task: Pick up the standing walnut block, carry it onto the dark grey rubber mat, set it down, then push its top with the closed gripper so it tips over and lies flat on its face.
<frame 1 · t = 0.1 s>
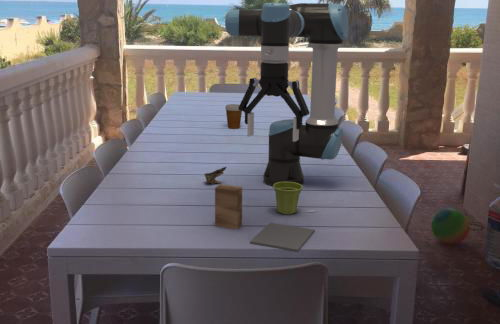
hand: (272, 138, 166), 28 cm above the table, tool pointing down, fingers open, 13 cm apart
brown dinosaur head: (215, 184, 219), on the table
rubber mat: (283, 237, 169), on the table
plant pot: (287, 212, 190), on the table
walnut block: (228, 225, 177), on the table
disposable coffee cup: (233, 128, 317), on the table
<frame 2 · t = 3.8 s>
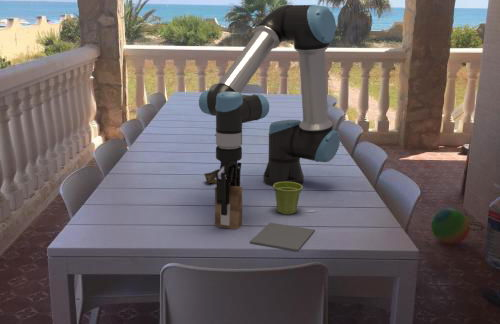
hand: (228, 221, 177), 1 cm above the table, tool pointing down, fingers closed on walnut block, 4 cm apart
walnut block: (228, 225, 177), on the table, touching gripper
everything else where it was.
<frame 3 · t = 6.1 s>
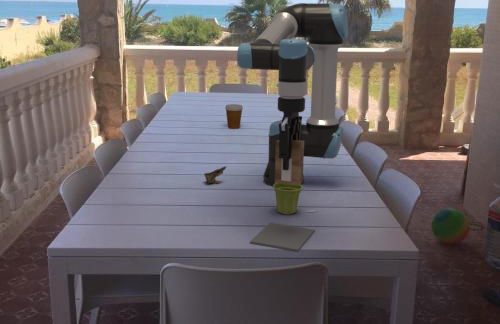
hand: (289, 178, 168), 16 cm above the table, tool pointing down, fingers closed on walnut block, 4 cm apart
walnut block: (288, 182, 169), point 15 cm above the table, touching gripper
everything else where it was.
when the fingers open (2 cm above the table, at t = 8.9 s): walnut block stays where it is, resting on rubber mat.
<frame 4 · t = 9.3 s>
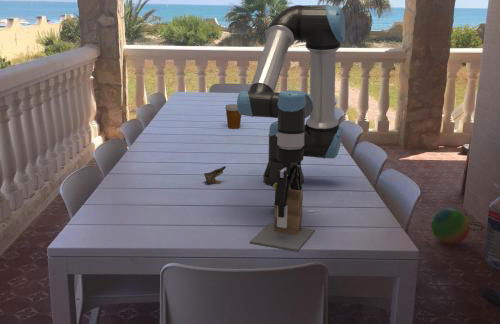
hand: (288, 220, 172), 4 cm above the table, tool pointing down, fingers open, 10 cm apart
walnut block: (287, 230, 172), point 1 cm above the table, touching rubber mat
everything else where it was.
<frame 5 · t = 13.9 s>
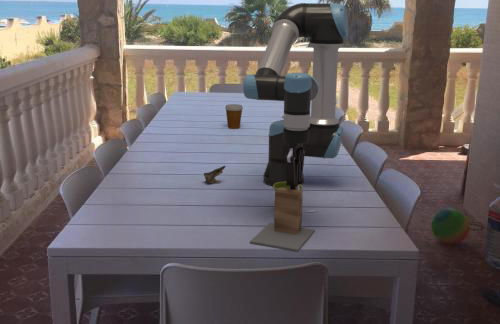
hand: (293, 206, 175), 7 cm above the table, tool pointing down, fingers closed
walnut block: (287, 230, 172), point 1 cm above the table, touching gripper, rubber mat
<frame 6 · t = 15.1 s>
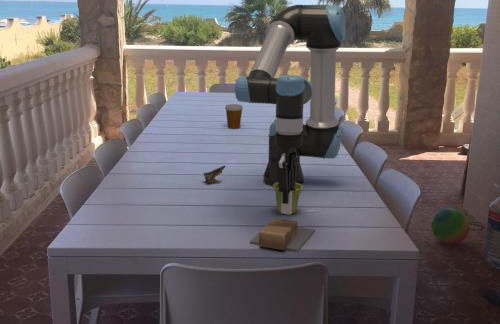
hand: (286, 213, 169), 7 cm above the table, tool pointing down, fingers closed
walnut block: (285, 226, 170), point 3 cm above the table, tilted 90°, touching rubber mat
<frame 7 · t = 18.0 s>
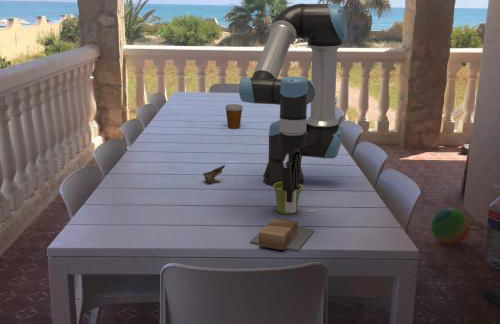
hand: (290, 211, 173), 6 cm above the table, tool pointing down, fingers closed
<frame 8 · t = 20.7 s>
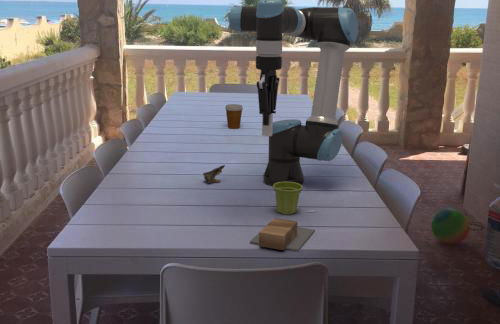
hand: (267, 135, 177), 26 cm above the table, tool pointing down, fingers closed
at the end: walnut block tilted 90°; walnut block inside the target area on the rubber mat (5.0 cm from its centre), point 2.6 cm above the rubber mat's base; the gripper is holding nothing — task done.
